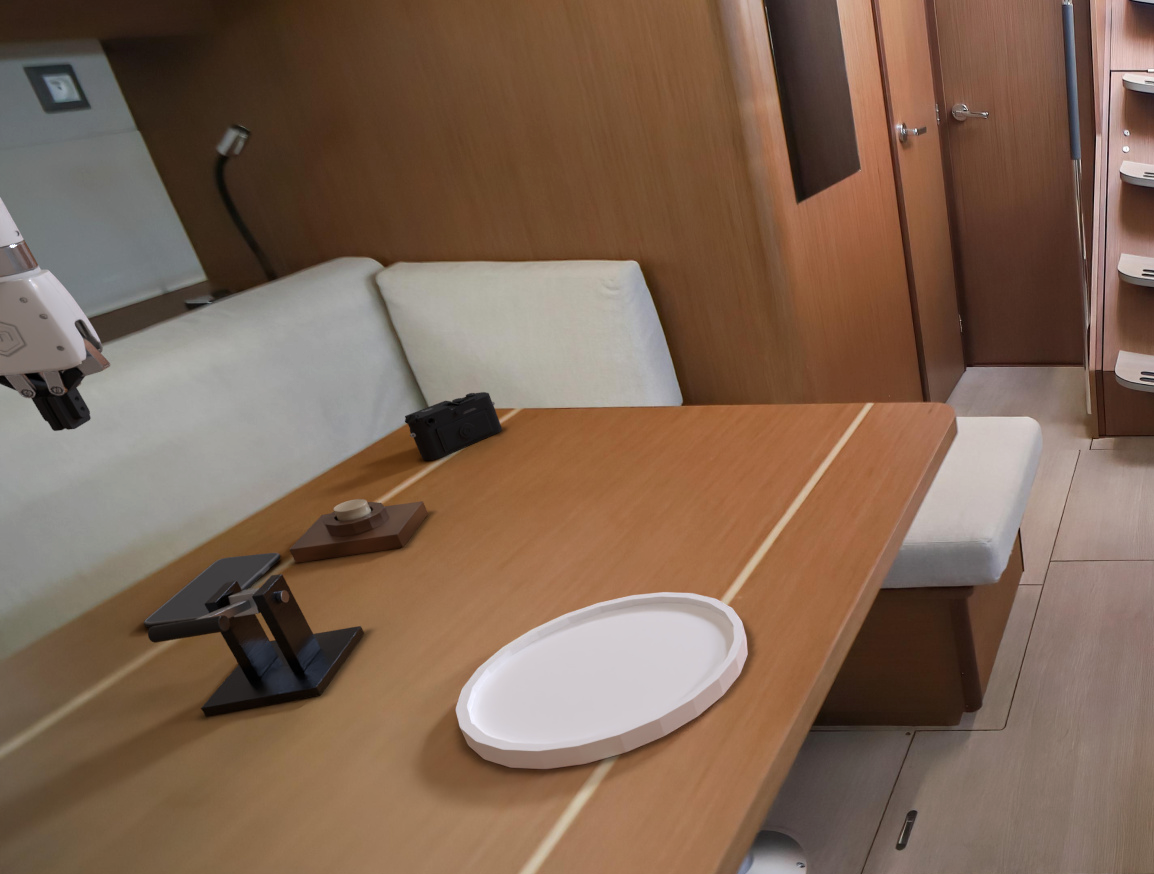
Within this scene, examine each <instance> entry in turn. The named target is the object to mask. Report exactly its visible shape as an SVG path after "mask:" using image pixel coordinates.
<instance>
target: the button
mask: <svg viewBox="0 0 1154 874" xmlns="http://www.w3.org/2000/svg"><path fill="white" fill-rule="evenodd" d="M367 502H368V501H367V500H366V499H365V498H364V499H362V498H356V499H351V500H350V499H349V500H347V501H343V502H341V503H339V504H337V505H336V506H334V507H333V509H332V510H333V512H335V514H336V517H337V519H338V520H339V521H347V520H354V519H357V518H361V517H363V516H365V515H367V514H369V513H371V509H370V507H369V505H368V503H367Z"/></svg>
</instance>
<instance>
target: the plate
mask: <svg viewBox="0 0 1154 874" xmlns="http://www.w3.org/2000/svg"><path fill="white" fill-rule="evenodd" d="M747 639H748V638H747V634H746V630H745V627H744V623H743V621H742V619H741V618H740V617H739V615H738V614H737V612H736V611H735V609H734V608H733V607H731V606H729V605H728V604H726V603H724V602H723V601H721V600H719V599H717V598H715V597H710V596H706V595H702V594H698V593H695V592H671V591H662V592H661V591H660V592H651V593H642V594H633V595H632V594H631V595H627V596H623V597H619V598H614V599H610V600H605V601H600V602H596V603H594V604H591V605H588V606H586V607H582V608H579V609H576V610H573V611H569V612H567V613H565V614H562V615H560V616H557V617H556V618H553V619H551V620H549V621H547V622H545V623H543V624H540V625H538V626H536V627H534V628H532V629H530V630H528V631H526V632H525V633H523V634H522V635H520V636H519V637H517V638H515V639H514V640H512V641H511V642H509V643H507V644H506V645H504V646H502V647H501V648H500V649H499V650H497V651H496V652H495V653H493V655H491V656H490V657H489V658H488V659H487V660H485V661H484V662H483V663H482V664H480V666H479V667H477V668H476V670H475V671H474V673H473V674H472V675H471V676H470V678H468V680H467V681H466V683H465V684H464V685H463V687H462V688H461V691H460V694H459V696H458V700H457V703H456V706H455V709H454V710H455V713H456V717H457V721H458V726H459V729H460V731H461V733H462V734H463V737H464V739H465V742H466V744H467V746H468V747H469V748H470V749H472V750H473V751H474V752H475V753H476V754H478V756H480V757H481V758H482V759H483V760H485V761H487V762H492V763H495V764H498V765H500V766H501V765H502V766H505V767H506V768H511V769H531V770H532V769H533V770H534V769H535V770H550V769H557V768H564V767H572V766H580V765H586V764H590V763H593V762H597V761H600V760H604V759H608V758H612V757H615V756H618V755H622V754H626V753H628V752H630V751H633V750H635V749H638V748H639V747H641V746H645V745H647V744H649V743H652V742H654V741H656V740H658V739H661V738H663V737H665V736H667V735H669V734H671V733H672V732H674V731H676V730H677V729H679V728H680V727H682V726H684V725H686V724H687V723H689V722H691V721H693V720H695V719H696V718H697V717H699V716H700V715H701V714H703V713H704V712H705V711H706V710H708V708H710V707H711V706H712V705H713V704H715V703H716V702H717V701H718V700H719V699H721V698H722V697H724V695H725V694H726V693H727V691H728V690H729V689H730V688H731V687H732V685H733V684H734V683H735V681H736V680H737V679H738V678H739V676H740V675H741V674H742V670H743V668H744V665H745V663H746V660H747V658H748V654H749V653H748V642H747V641H748V640H747Z"/></svg>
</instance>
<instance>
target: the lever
mask: <svg viewBox="0 0 1154 874" xmlns="http://www.w3.org/2000/svg"><path fill="white" fill-rule="evenodd" d="M259 588H260V587H256V588H248V589H247V590H243V591H241V592H238V593H236V594H234V595H231V596H229V597H228V599H229V602H230V605H228V606H225V607H223V608H221V609H218V610H216V611H214V612H211V613H209V614H207V615H204V616H202V617H200V618H197V619H195V620H189V621H183V622H177V623H170V624H164V625H158V626H152V627H149V628H148V630H147V638H148V639H149V641H150V642H151V643H154V644H155V643H162V642H167V641H174V640H180V639H187V638H193V637H200V636H205V635H212V634H217V633H221V632H224V631H227V630H228V629H229V627H230V621H229V619H228V618H230V617H233V616H234V617H240V616H246V615H252V614H255V615H258V614H261V613H260V611H259V609H258V607H257V605H256V603H255V602H254V600H253V598H252V596H253V595H254V594H255V593H256V591H257V590H258V589H259Z"/></svg>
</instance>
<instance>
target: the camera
mask: <svg viewBox="0 0 1154 874" xmlns="http://www.w3.org/2000/svg"><path fill="white" fill-rule="evenodd" d="M404 418H405V419H404V423H405V424H406V425H408V428H409V432H410V434H409V437H410V438H413V439H414V442H415V445H416V447H417V450H418V452H419V455H420V458H422V460H424V461H436V460H439V459H441V458H443V457H446V456H448V455H450V454H452V453H455V452H457V451H459V450H461V449H464V448H467V447H469V446H471V445H473V444H476V443H478V442H481V441H483V440H486V439H487V438H489V437H492V436H494V435H496V434H499V433H500V432H502V430H503V428H502V425H501V422H500V419H499V416H498V414H497V411H496V408H495V402H494V401H492V398H491V395H490V393H489V392H485V391H481V392H469V393H467V394H465V396H463V397H458V398H454V399H452V400H443V401H440V402H438V403H436V404H433V405H431V406H428V407H425V408H422V409H420V410H417V411H414V412H412V413H409V414H406V415H404Z"/></svg>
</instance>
